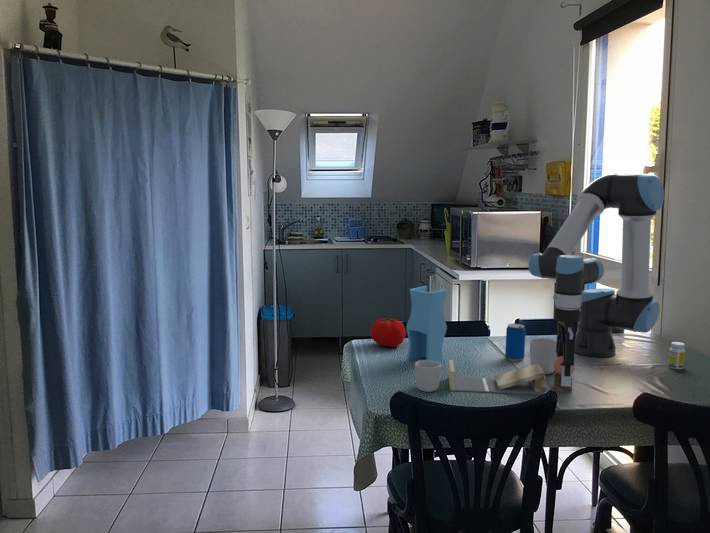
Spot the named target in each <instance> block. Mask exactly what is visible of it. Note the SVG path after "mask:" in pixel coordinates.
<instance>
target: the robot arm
mask: <svg viewBox="0 0 710 533" xmlns="http://www.w3.org/2000/svg"><path fill="white" fill-rule="evenodd" d="M664 201H665V191H664V185H663V182H662V181H661V179H660V177H658V176H657V175H656V174H652V173H651V174H650V173H649V174H648V173H607V174H604V175H602V176H600V177H598V178H596V179H594V180H593V181H592V182H590V183H589V184H588V185H586V187H584V188H583V190H581V192H580V193H579V195H578V196H577V198H576V204H575V206H574V208H573V209H572V210H571V212H570V213H569V214H568V216H567V218H566V219H565V221H564V222H563V224H562V225H561V226H560V228H559V230H558V231H557V233H556V234H555V236H554V237H553V238H552V240H551V242H550V243H549V244H548V245H547V247H546V249H545V250H543V253H541V252H539V253H534V254H532V255H531V256H530V258H529V261H528V271H529V273H530V275H532V276H534V277H538V278H541V279H549V280H550V279H551V280H555V290H554V295H553V296H552V299H553V300H554V306H555V307H553V319H554V320H555V321H557V322H556V325H557V326H556V327H557V329H556V330H557V332H556V341H557V343H556V353H557V357H560V356H563V363H561V365H562V373H561V375H560V376H561V386H571V377H572V374H573V373H572V365H574V364H575V354H578V355H581V356H585V357H594V358H609V357H613V356H615V355H616V350H617V349H616V344H615V340H614V336H613V332H612V330H613V328H614V329H615V328H616V329H619V330H620V329H621V330H626V331H630V332H634V333H642V334H643V333H649V332H650V331H652V330H653V328H654V327H655V325H656V324H657V322H658V319H659V314H660V309H661V308H660V302H659V301H658V300H656V299H654V292H653V291H651V290H650V289H649V282H650V256H651V254H650V253H651V229H652V228H651V226H652V223H651V222H652V219H653V218H654V217H655V216H656V215H657V211H659V210H661V209H662V207H663V205H664ZM610 208H611V209H618V212H617V215H618V216H619V217H620V218H621V219H622V241H621V242H622V245H621V247H622V248H621V250H622V251H621V284H620V285H621V286H620V288H619V289H618V290H617V291H615V290H614V289H613V288H590V289H585V290H583V286H584V285H588V284H594V283H596V282H597V281H600V280H602V279H601V278H603V276H604V273H605V267H604V265H603V262H601V261H600V259H597V258H595V257H591V258H590V257H587V258H584V257H582V256H581V255H577V254H572V253H573V252H574V250H575V249H576V248H577V246H578V245H579V243H580V241H581V240H582V239H583V238H584V236H585V234H586V232H587V231H588V229H589V228H590V226H591V225H592V223H593V221H594V220H595V219H596V217H597V216H599V215H601V214H603V212H604V211H605V210H606V209H610ZM574 323H577V331H576V332H575V330H576V329H575V327H574V325H573V324H574ZM571 373H572V374H571Z"/></svg>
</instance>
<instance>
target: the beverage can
mask: <svg viewBox="0 0 710 533" xmlns="http://www.w3.org/2000/svg"><path fill="white" fill-rule="evenodd" d="M525 327H526V326H525V325H524V324H520V323H509V324H508V325H507V327H506V329H505V330H506V331H505V332H506V334H505V349H504V350H505V353H504V357H505V358H506V359H507V360H509V361H513V362H521V361H522V360H523V359H524V358H525V349H526V348H525V347H526V332H527V330H526V328H525Z"/></svg>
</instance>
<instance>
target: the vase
mask: <svg viewBox="0 0 710 533" xmlns="http://www.w3.org/2000/svg"><path fill="white" fill-rule="evenodd" d="M427 289H428V286H427V285H423V286H418V287H414V288H413V287H412V288H409V293H410V298H411V299H410V300H411V310H410V316H409V319H408V321H407V323H406V328H405V330H406V334H407V338H408V351H407V355H406V359H405V361H406V362H410V361H413V360H416V359H418V358H425V360H432V361H437V362H439V363H443V362H444V353H443V345H444V339H445V336H446V333H447V330H448V326H447V323H446V319H445V315H444V303H445V300H446V299H445V298H446V297H447V293H448V289H445V288H444V289H440V290H437V291H428V290H427Z"/></svg>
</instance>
